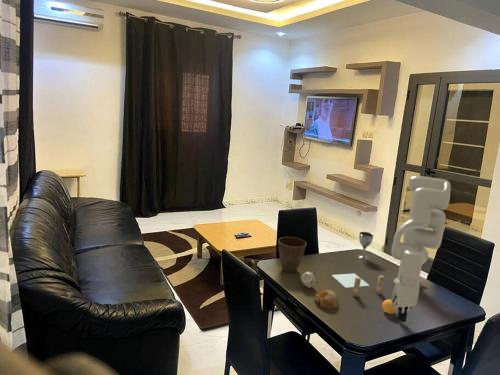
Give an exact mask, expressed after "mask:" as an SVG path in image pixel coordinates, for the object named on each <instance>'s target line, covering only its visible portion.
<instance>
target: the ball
mask: <svg viewBox="0 0 500 375" xmlns="http://www.w3.org/2000/svg"><path fill="white" fill-rule="evenodd" d="M393 304H394V303H393V302H391V298H390V299H389V298H388V299H386V300H384V301H383V302H382V310H383V311H384V312H385V313H387V314H389V315H391V314H394V313H395V312H396V311H398V309H394V308H393Z"/></svg>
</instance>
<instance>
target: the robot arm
mask: <svg viewBox="0 0 500 375" xmlns="http://www.w3.org/2000/svg"><path fill="white" fill-rule="evenodd" d="M408 186H409V190H410V193H411V196H412V197H411V201H410V207H409V213H408V219H407V220H406V221H405V222H403V224H401V225H400V226H399V227H398V228H397V229H396V231H395V233H394V236H393V239H392V240H393V241H392V245H391V255H392V256H391V257H392V258H394V259H395V260H399V261H400V263H399V269H398V273H397V277H395V278H394V279H393V284H395V285H394V288H393V290H392V295H391V298H390V300H391V302H393V303H394V304H393V308H394V309H397V311H398V313H397V319H398V320H399V321H400V322H402V323H405V322H406V321H407V317H408V314H409V312H410V310H411V309H412V308H414V307H416V305H418V301H419V294H420V288H421V285H420V283H421V282H422V283H423V282H425V280H426V278H424V277H421V273H422V266H423V264H425V263H426V262H427V261H428V258H429V252H428V249H431V250H438V249H439V248H440V247H441V245H442V241H443V234H444V230H445V225H446V217H447V216H446V214H445V212H444V210H446V209H447V208H448V206H449V203H450V199H451V183H450V181H449V180H447V179H445V178H444V179H443V178H438V177H437V178H436V177H431V176H422V175H413V176H410V178H409V180H408ZM402 236H403V237H402ZM401 239H403V241H402V242H401Z"/></svg>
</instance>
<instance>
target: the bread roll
mask: <svg viewBox="0 0 500 375" xmlns="http://www.w3.org/2000/svg"><path fill="white" fill-rule="evenodd" d="M314 298H315V299H314V302H315V303H316V305H317V306H319V307H321V308H324V309H335V308H338V302H339V299H338V295H337V294H336V293H335V292H334V291H333V290H331V289H330V290H329V289H324V290H321V291H319V292H317V293H316V294H315V297H314Z"/></svg>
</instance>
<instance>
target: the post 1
mask: <svg viewBox="0 0 500 375" xmlns="http://www.w3.org/2000/svg"><path fill="white" fill-rule="evenodd" d="M359 277H360V276H358V277H355V282H354V287H353V291H352V297H354V298H358V297H359V294H360V288H361V287H360V281H361V279H362V278H361V277H360V278H359Z"/></svg>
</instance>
